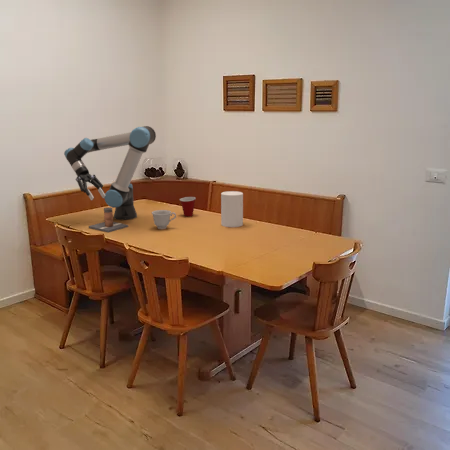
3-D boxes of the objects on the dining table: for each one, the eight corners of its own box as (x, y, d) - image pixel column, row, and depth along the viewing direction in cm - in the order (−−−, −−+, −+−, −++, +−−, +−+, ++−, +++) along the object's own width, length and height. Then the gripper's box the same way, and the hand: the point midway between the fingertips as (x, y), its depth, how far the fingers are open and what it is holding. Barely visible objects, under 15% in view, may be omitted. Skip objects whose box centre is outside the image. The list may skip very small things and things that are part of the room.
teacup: (175, 230, 293) (174, 214, 290) (150, 230, 293) (149, 214, 290) (177, 225, 304) (177, 209, 302) (153, 225, 305) (153, 209, 302)
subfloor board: (108, 222, 312) (108, 220, 311) (128, 226, 301) (128, 224, 301) (88, 227, 299) (88, 225, 299) (108, 232, 289) (108, 230, 289)
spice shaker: (109, 224, 302) (108, 207, 299) (115, 225, 299) (113, 208, 297) (103, 226, 298) (102, 208, 295) (109, 227, 295) (107, 209, 293)
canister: (234, 228, 297) (234, 196, 292) (217, 225, 305) (216, 193, 300) (247, 223, 307) (247, 192, 302) (229, 220, 315) (229, 190, 310)
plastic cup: (177, 214, 332) (177, 197, 329) (192, 213, 336) (192, 196, 333) (183, 218, 323) (182, 200, 320) (198, 216, 327) (198, 199, 324)
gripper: (91, 171, 315) (109, 199, 309) (63, 175, 298) (81, 204, 293) (96, 164, 310) (114, 192, 305) (68, 167, 294) (87, 196, 289)
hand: (98, 198), depth 299 cm, fingers open, 8 cm apart
